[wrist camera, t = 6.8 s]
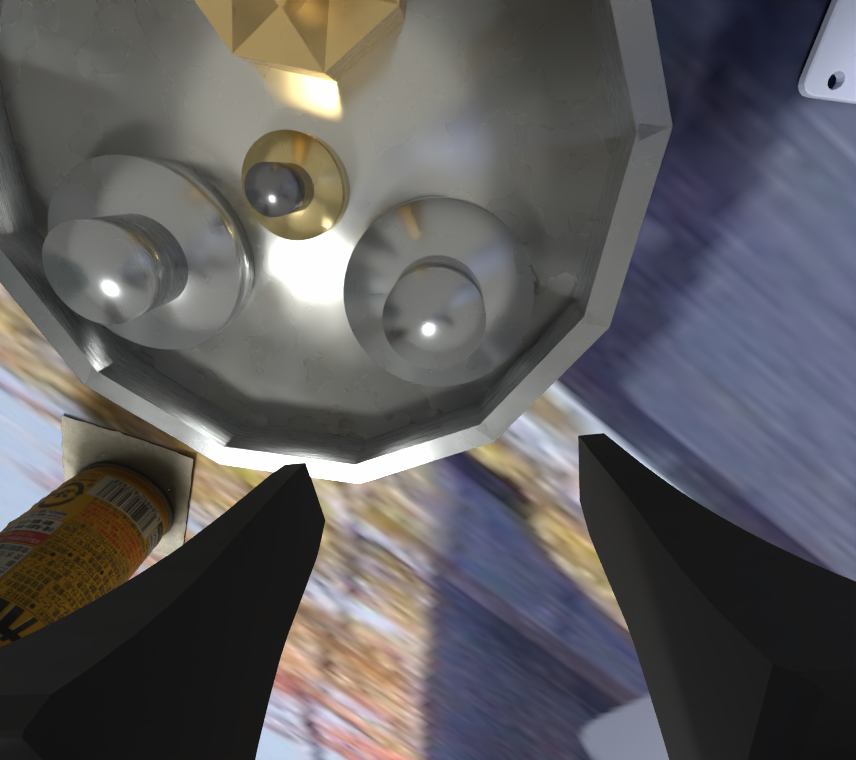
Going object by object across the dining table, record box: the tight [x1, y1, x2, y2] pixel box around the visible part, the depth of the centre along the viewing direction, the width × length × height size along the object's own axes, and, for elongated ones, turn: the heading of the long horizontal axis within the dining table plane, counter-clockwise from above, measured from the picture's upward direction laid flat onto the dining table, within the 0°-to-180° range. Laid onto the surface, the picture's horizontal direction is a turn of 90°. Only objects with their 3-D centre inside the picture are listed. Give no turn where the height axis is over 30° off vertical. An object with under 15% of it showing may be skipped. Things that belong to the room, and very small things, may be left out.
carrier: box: [0, 0, 673, 484], centre depth 15 cm, size 24×24×6 cm
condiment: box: [0, 416, 193, 647], centre depth 21 cm, size 7×8×12 cm
